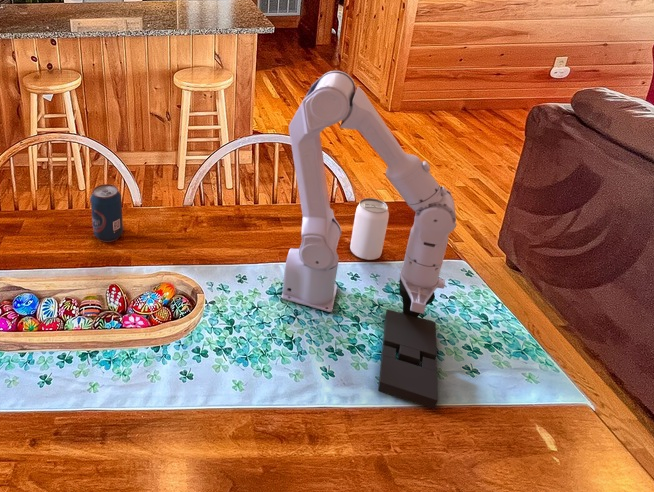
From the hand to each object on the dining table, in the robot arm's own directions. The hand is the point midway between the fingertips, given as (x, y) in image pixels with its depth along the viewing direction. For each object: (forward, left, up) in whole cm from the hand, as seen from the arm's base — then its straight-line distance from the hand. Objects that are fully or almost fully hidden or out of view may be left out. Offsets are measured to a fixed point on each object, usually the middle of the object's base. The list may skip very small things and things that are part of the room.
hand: (409, 316), depth 92 cm
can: (-9, +18, -1) cm, 20 cm away
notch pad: (0, -14, -1) cm, 14 cm away
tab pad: (0, -5, -1) cm, 5 cm away
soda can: (-64, +1, -1) cm, 64 cm away
